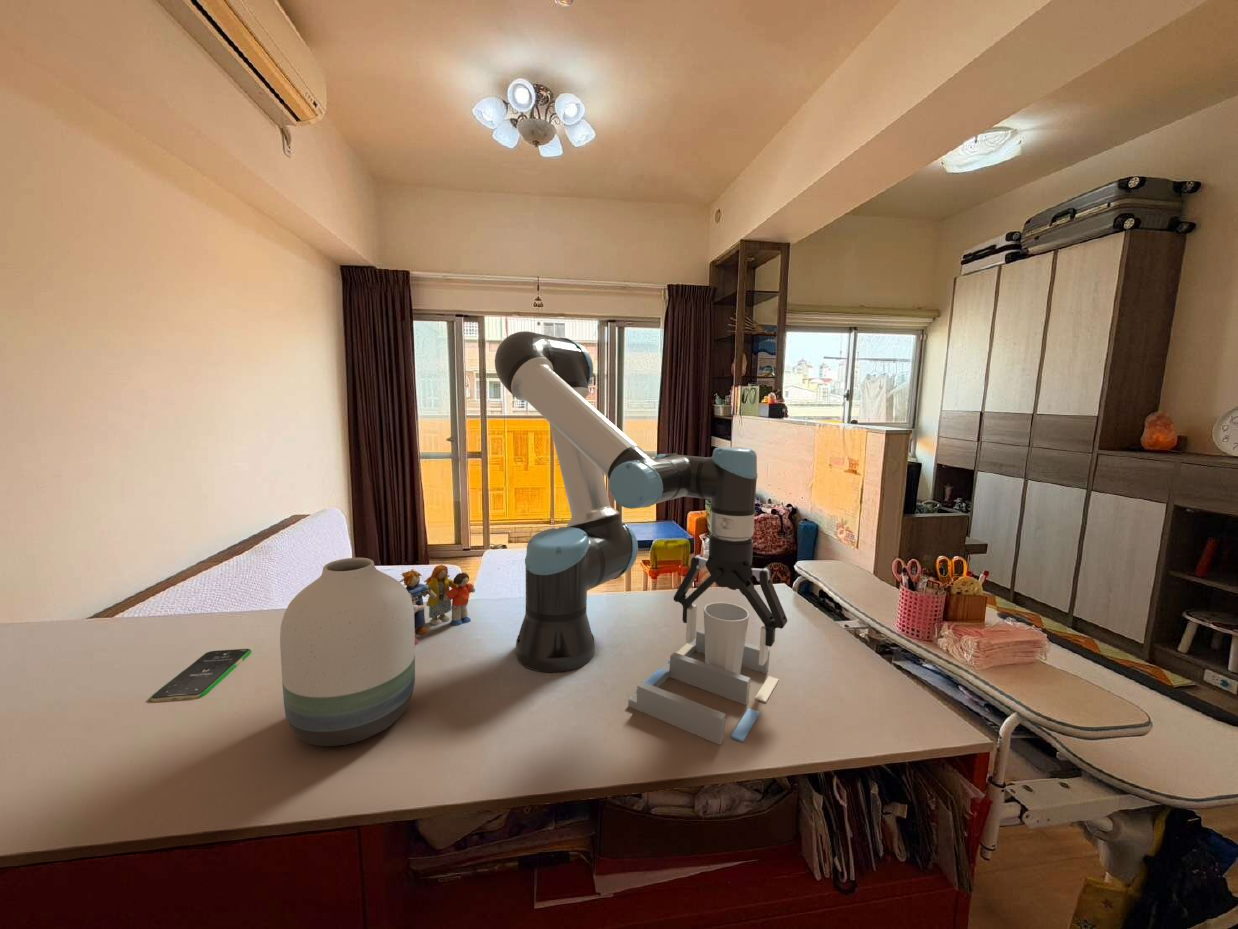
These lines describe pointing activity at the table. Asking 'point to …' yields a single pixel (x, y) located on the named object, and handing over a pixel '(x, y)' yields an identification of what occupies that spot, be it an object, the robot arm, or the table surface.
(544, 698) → the table surface
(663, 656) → the table surface
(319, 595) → the vase
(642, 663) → the table surface
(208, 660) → the smartphone
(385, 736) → the table surface
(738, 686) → the parallel grey wall panels
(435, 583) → the doll family
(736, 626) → the cup
